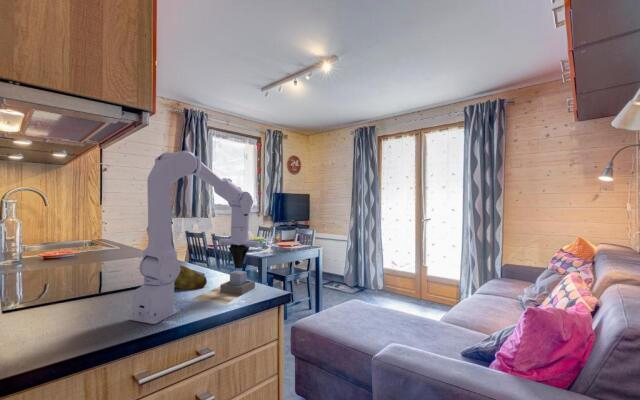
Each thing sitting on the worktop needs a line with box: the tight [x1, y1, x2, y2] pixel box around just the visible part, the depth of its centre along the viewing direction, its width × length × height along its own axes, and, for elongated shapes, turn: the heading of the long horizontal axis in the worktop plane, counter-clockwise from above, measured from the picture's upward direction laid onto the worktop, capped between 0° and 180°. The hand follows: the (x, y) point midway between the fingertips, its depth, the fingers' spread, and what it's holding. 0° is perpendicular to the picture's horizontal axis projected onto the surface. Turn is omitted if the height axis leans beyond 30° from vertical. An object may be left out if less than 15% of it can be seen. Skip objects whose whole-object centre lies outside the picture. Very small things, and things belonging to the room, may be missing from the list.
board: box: [191, 286, 256, 305], centre depth 103 cm, size 18×12×1 cm, turn 163°
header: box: [219, 279, 256, 296], centre depth 107 cm, size 9×8×2 cm
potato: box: [174, 264, 208, 291], centre depth 108 cm, size 8×13×8 cm, turn 81°
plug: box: [229, 270, 248, 286], centre depth 107 cm, size 4×4×6 cm
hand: (238, 267), depth 107 cm, fingers closed
